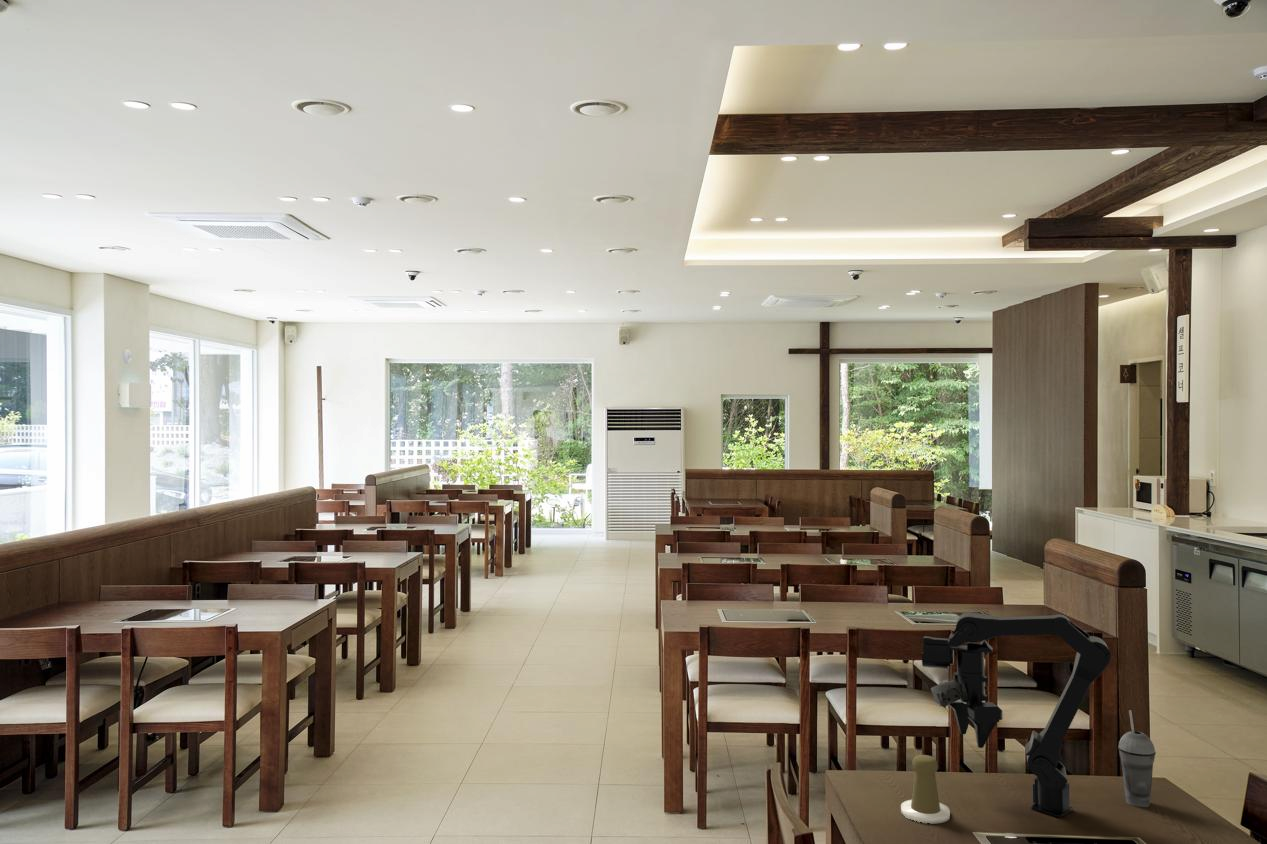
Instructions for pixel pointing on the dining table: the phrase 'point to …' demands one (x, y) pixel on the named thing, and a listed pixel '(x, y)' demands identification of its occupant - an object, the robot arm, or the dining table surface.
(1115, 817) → the dining table surface
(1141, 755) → the beverage cup
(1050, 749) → the robot arm
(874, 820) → the dining table surface
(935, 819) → the coaster
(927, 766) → the cork
